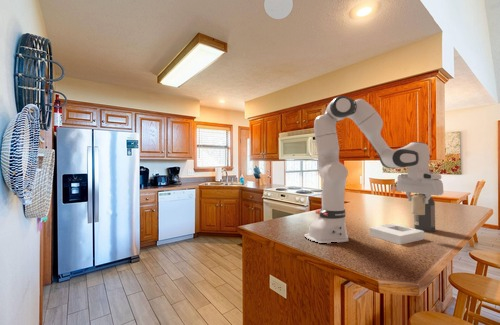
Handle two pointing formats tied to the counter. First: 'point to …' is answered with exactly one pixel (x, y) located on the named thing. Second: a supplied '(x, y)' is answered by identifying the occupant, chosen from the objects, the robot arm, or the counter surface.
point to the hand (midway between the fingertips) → (418, 202)
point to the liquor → (426, 217)
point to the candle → (417, 204)
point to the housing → (397, 233)
